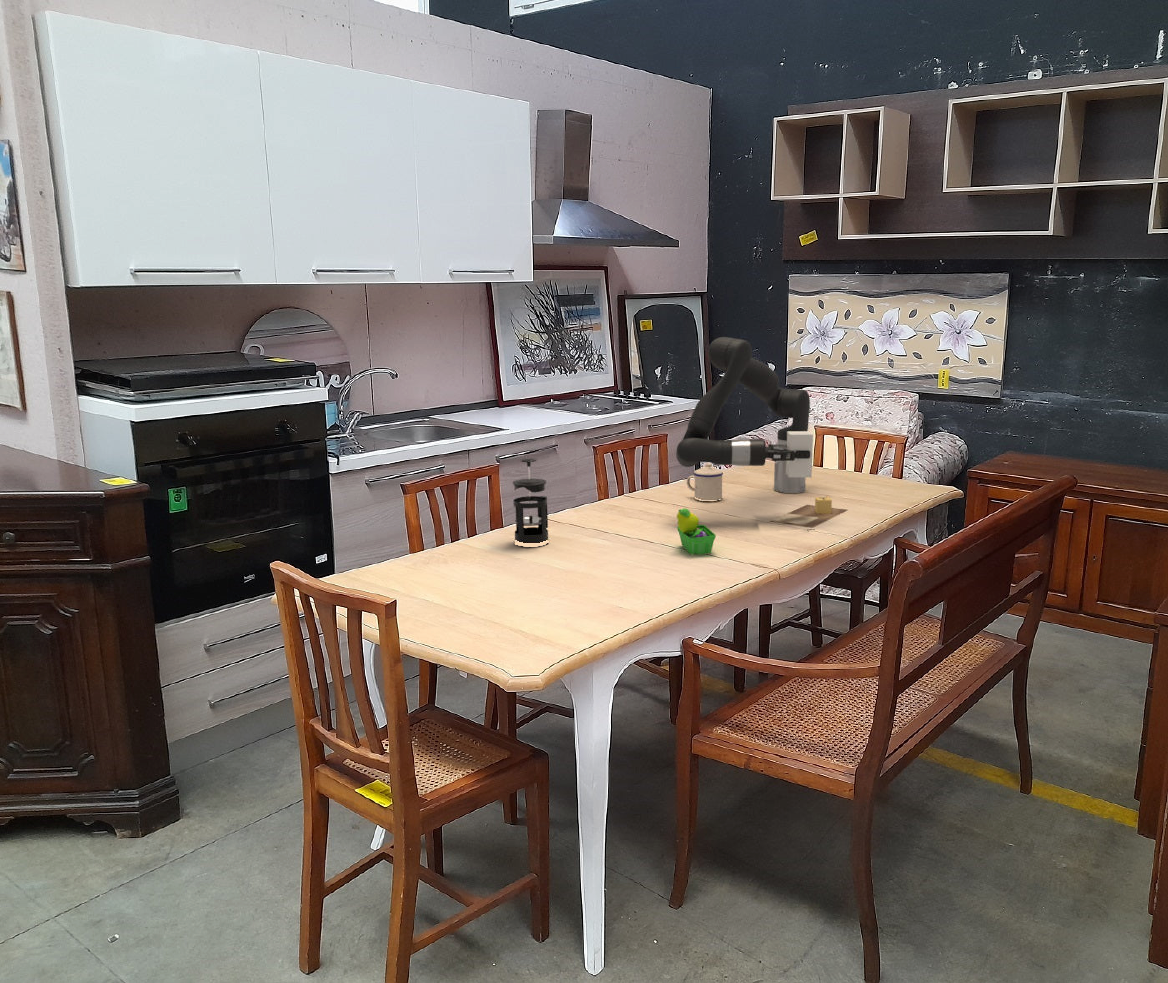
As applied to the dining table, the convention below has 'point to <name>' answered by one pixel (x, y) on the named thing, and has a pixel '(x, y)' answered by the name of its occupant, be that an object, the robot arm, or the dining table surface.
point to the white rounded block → (799, 442)
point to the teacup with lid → (707, 483)
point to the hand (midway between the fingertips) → (807, 452)
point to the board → (807, 517)
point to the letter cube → (823, 505)
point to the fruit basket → (694, 533)
